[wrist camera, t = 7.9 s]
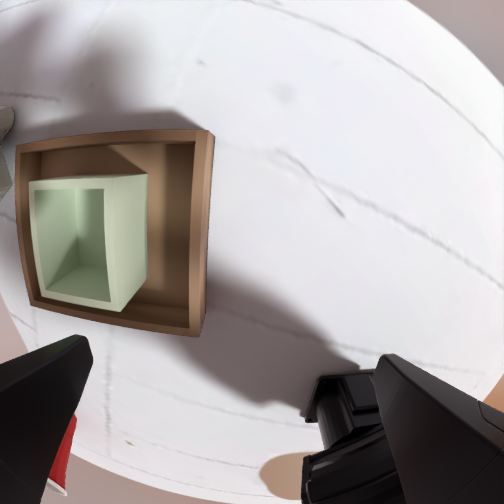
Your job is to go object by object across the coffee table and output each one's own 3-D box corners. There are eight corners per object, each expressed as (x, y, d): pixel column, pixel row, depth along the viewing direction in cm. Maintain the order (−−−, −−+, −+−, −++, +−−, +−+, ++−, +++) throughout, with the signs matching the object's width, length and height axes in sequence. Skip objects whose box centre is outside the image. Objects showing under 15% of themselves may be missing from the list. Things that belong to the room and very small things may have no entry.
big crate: (205, 312, 20) (199, 337, 17) (51, 289, 19) (30, 305, 16) (215, 136, 16) (208, 130, 13) (42, 145, 16) (16, 145, 12)
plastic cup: (53, 427, 26) (24, 481, 15) (16, 374, 23) (-26, 430, 12) (108, 442, 26) (82, 509, 15) (70, 387, 23) (24, 462, 11)
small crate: (148, 277, 18) (120, 311, 13) (78, 268, 18) (41, 296, 13) (148, 173, 16) (112, 177, 11) (74, 175, 16) (28, 181, 11)
